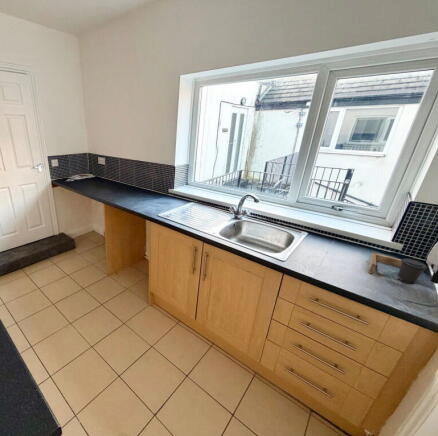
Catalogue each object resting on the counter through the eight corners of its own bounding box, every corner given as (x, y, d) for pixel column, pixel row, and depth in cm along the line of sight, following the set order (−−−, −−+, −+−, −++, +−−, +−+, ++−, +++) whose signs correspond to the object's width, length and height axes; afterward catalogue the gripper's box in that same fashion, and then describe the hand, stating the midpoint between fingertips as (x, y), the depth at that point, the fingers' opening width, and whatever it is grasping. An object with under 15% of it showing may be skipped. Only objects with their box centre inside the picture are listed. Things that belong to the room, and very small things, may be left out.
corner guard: (410, 271, 116) (414, 262, 114) (415, 285, 106) (419, 276, 104) (368, 260, 125) (371, 252, 124) (368, 272, 115) (372, 263, 113)
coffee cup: (420, 282, 108) (431, 263, 104) (414, 288, 104) (425, 269, 100) (396, 273, 114) (405, 255, 110) (390, 278, 110) (399, 260, 106)
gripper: (494, 250, 85) (468, 293, 91) (441, 233, 99) (422, 271, 105) (475, 251, 84) (450, 294, 91) (425, 233, 98) (407, 272, 104)
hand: (435, 282), depth 98 cm, fingers closed
